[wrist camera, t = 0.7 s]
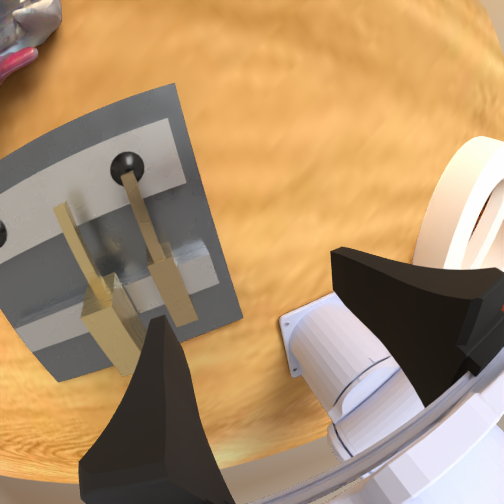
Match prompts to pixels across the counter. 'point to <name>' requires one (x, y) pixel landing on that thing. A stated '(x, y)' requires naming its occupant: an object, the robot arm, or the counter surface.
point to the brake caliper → (25, 31)
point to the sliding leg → (105, 303)
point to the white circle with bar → (466, 211)
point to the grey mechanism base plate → (110, 230)
